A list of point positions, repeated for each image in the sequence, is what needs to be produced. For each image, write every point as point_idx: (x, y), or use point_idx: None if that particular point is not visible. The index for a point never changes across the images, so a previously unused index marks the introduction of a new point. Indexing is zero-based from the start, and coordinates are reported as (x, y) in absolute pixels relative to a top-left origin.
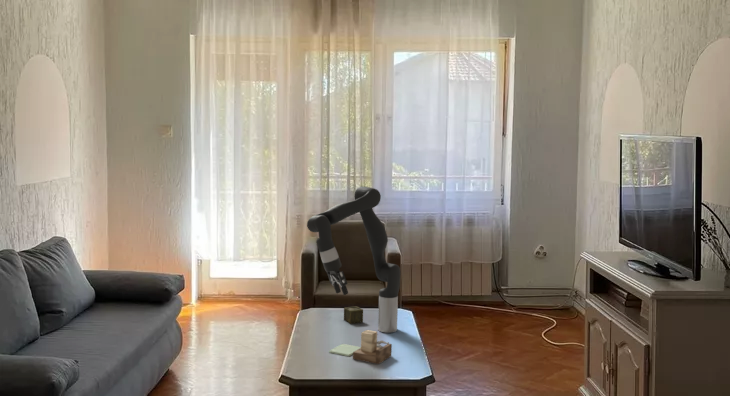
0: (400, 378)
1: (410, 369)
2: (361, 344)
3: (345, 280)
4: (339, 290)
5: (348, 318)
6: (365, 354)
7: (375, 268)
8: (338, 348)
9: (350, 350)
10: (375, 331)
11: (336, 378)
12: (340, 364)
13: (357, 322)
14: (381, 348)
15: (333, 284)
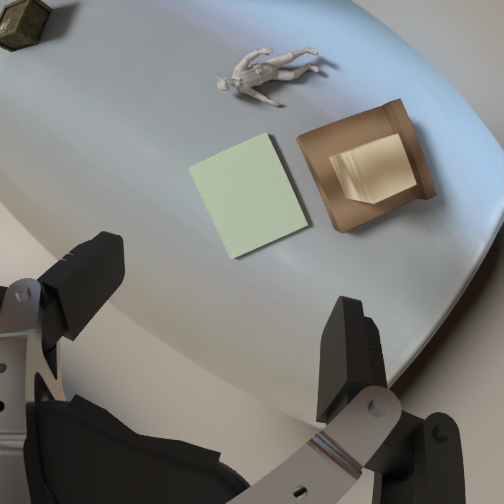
0: (496, 224)
1: (476, 155)
2: (355, 199)
3: (454, 480)
4: (110, 253)
5: (21, 41)
6: (385, 212)
7: None
8: (227, 215)
9: (272, 191)
10: (392, 136)
11: (412, 353)
12: (350, 293)
13: (44, 22)
14: (420, 165)
15: (59, 355)
